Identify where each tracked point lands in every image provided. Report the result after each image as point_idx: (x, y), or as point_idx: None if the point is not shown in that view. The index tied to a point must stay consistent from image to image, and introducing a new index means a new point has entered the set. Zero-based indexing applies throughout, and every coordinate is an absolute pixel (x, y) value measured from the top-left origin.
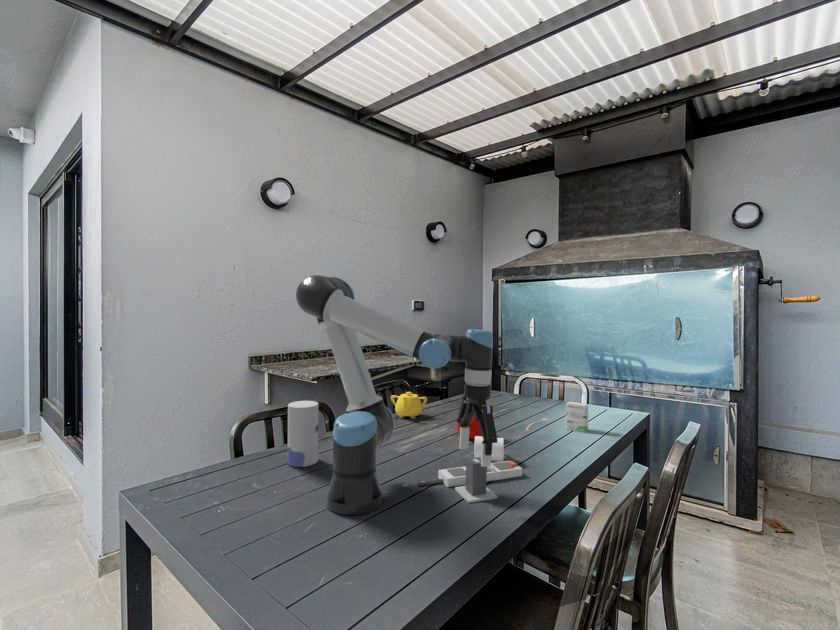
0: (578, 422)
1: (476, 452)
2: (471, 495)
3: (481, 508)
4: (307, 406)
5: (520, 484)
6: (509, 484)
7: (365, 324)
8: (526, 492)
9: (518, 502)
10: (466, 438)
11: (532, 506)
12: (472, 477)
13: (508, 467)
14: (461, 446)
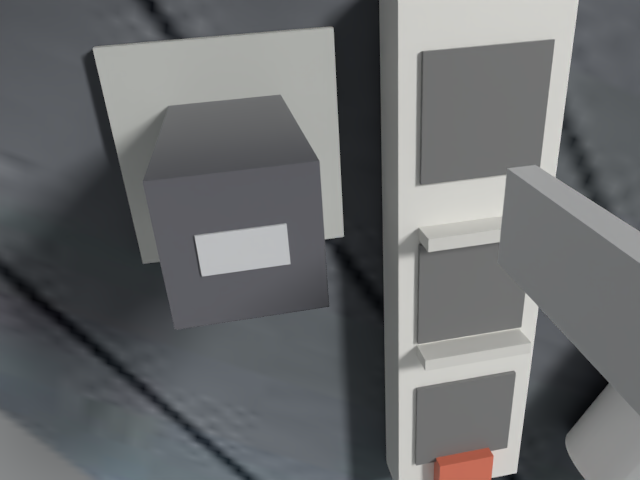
0: None
1: None
2: (178, 102)
3: (7, 108)
4: None
5: (296, 426)
6: (310, 377)
7: None
8: (196, 423)
9: (79, 350)
10: (567, 301)
11: (23, 399)
12: (162, 140)
13: (428, 440)
14: (524, 193)
